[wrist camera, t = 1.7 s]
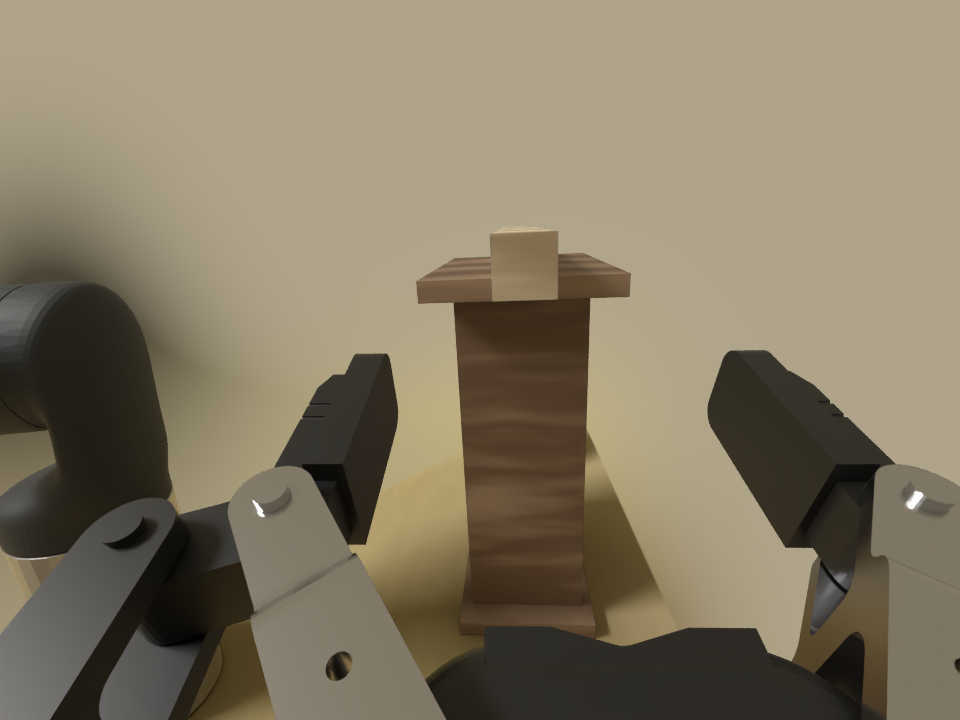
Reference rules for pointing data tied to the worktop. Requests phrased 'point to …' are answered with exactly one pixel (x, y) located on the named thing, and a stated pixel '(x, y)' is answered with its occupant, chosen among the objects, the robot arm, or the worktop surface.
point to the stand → (524, 440)
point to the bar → (524, 264)
